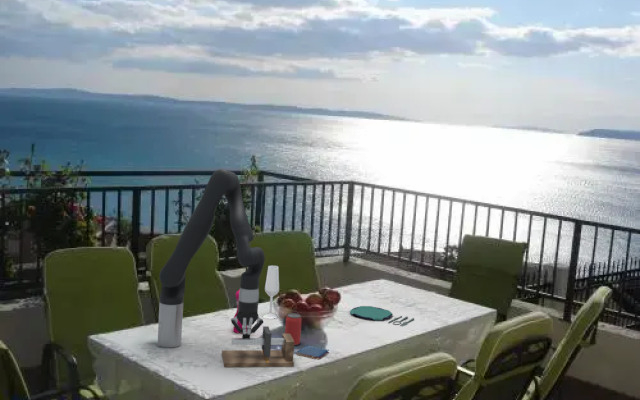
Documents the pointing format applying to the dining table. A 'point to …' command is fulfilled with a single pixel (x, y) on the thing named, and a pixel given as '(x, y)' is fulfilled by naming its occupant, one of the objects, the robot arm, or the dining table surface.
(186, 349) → the dining table surface
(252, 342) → the light grey beam
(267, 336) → the dark grey block
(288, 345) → the base board
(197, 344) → the dining table surface
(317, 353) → the woven mat
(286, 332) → the beer can
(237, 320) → the pepper mill
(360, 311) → the cutlery set
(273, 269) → the champagne flute
